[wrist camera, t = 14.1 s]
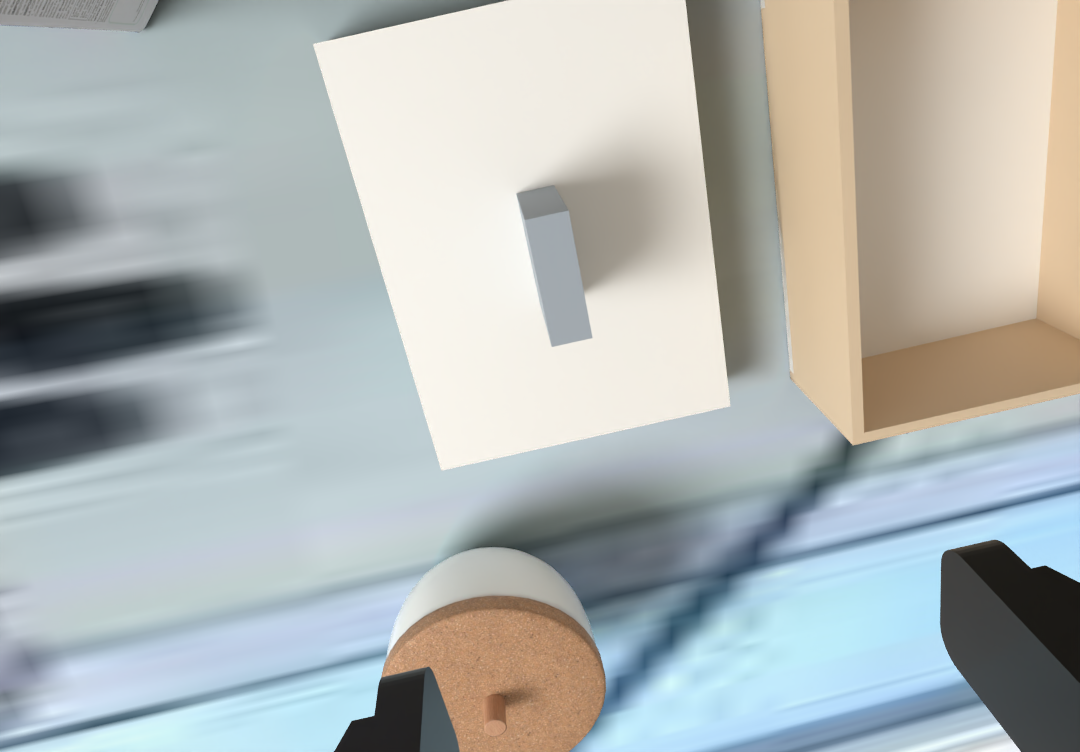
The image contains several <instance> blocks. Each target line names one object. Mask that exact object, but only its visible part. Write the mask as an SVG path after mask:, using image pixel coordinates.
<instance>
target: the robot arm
mask: <svg viewBox="0 0 1080 752" xmlns="http://www.w3.org/2000/svg"><path fill="white" fill-rule="evenodd" d="M940 627H941V633H942V638H943V641H944V644H945V647H946V649H947V651H948V654H949V656H950V658H951V660H952V661H953V663H954V665H955V666H956V667H957V669H958V670H959V672H960V673H961V674H962V675H963V677H964V678H965V679H966V681H967V682H968V683H969V685H970V686H971V687H972V688H973V690H974V691H975V692H976V694H977V695H978V696H979V697H980V699H981V700H982V701H983V703H984V704H985V705H986V707H987V708H988V709H989V710H990V712H991V713H992V714H993V716H994V717H995V718H996V720H997V721H998V722H999V723H1000V725H1001V726H1002V727H1003V729H1004V730H1005V731H1006V733H1007V734H1008V735H1009V736H1010V738H1011V739H1012V740H1013V742H1014V743H1015V744H1016V746H1017V747H1018V748H1019V749H1020V751H1021V752H1080V583H1079V582H1077V581H1075V580H1073V579H1071V578H1069V577H1067V576H1065V575H1063V574H1061V573H1059V572H1057V571H1055V570H1053V569H1051V568H1049V567H1047V566H1041V567H1037V568H1032V569H1031V568H1030V567H1029V566H1028V565H1027V564H1026V563H1025V562H1023V561H1022V560H1021V559H1020V558H1019V557H1018V556H1017V555H1016V554H1015V553H1014V552H1013V551H1012V550H1011V549H1010V548H1009V547H1008V546H1006V545H1005V544H1004V543H1002V542H1001V541H998V540H991V541H987V542H982V543H978V544H973V545H969V546H965V547H960V548H956V549H951V550H947V551H945V552H944V554H943V555H942V560H941V609H940ZM334 752H460V750H459V745H458V740H457V737H456V733H455V730H454V728H453V725H452V722H451V719H450V717H449V714H448V711H447V708H446V706H445V703H444V700H443V697H442V695H441V692H440V689H439V686H438V684H437V681H436V678H435V675H434V673H433V671H432V669H431V668H430V667H424V668H420V669H416V670H411V671H407V672H402V673H398V674H394V675H389V676H385V677H382V678H381V680H380V682H379V687H378V694H377V701H376V709H375V716H372V717H368V718H363V719H359V720H354V721H352V722H351V724H350V725H349V727H348V729H347V730H346V732H345V734H344V736H343V737H342V739H341V741H340V743H339V744H338V746H337V748H336V750H335V751H334Z"/></svg>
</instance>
